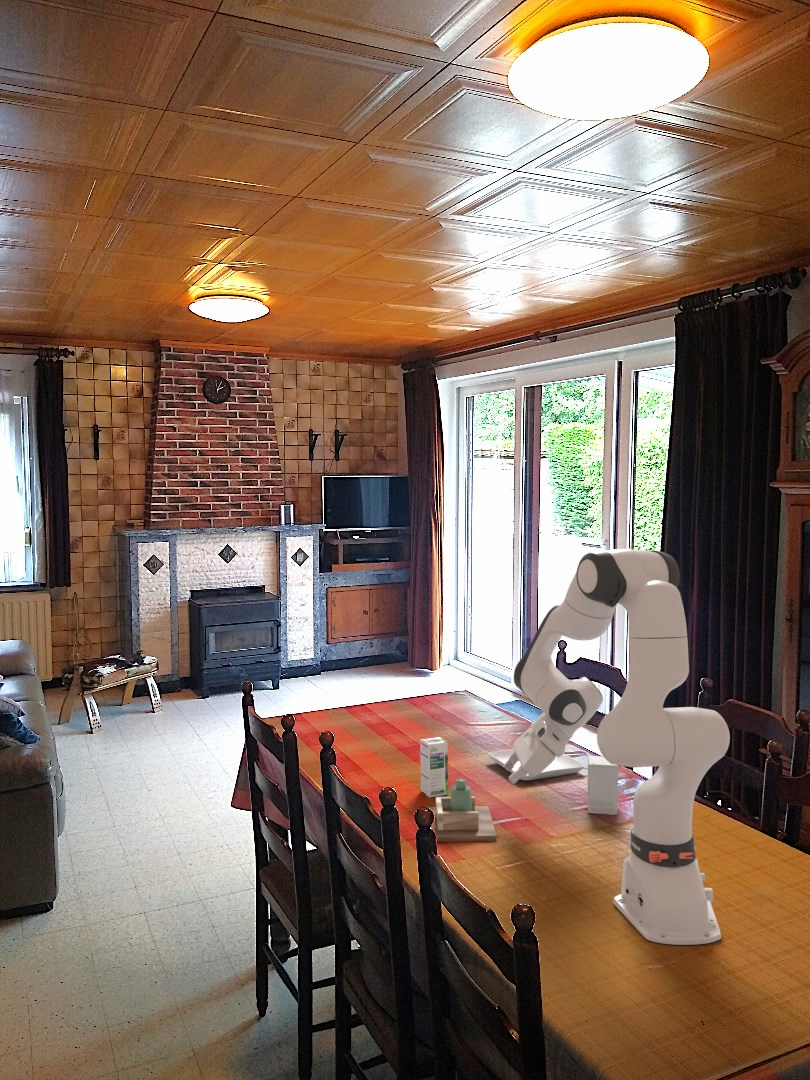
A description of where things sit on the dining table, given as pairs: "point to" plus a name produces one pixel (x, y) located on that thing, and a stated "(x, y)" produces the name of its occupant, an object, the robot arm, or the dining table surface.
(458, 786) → the green bottle
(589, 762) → the supplement box
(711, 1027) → the dining table surface
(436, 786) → the syrup box
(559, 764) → the salad plate
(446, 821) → the u rest
